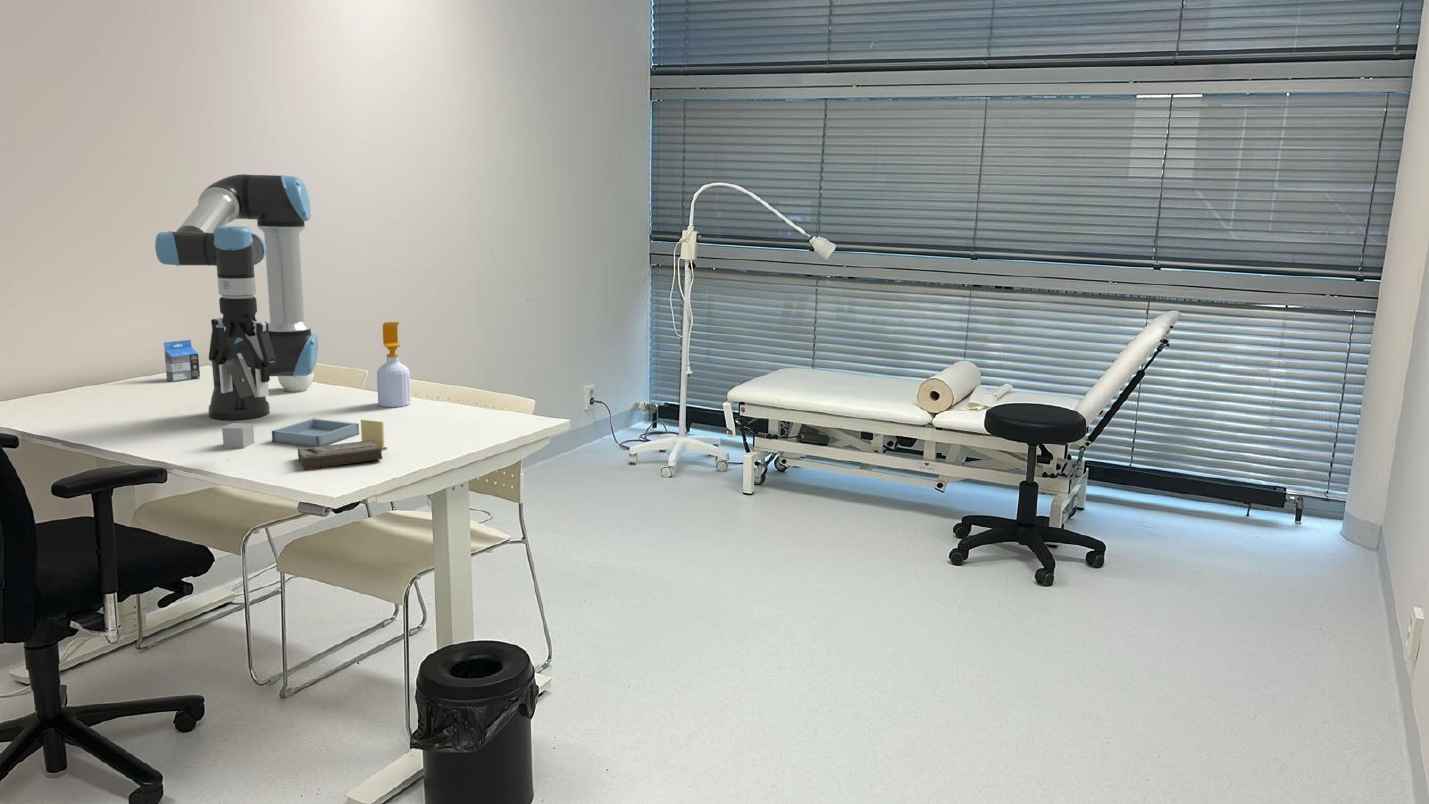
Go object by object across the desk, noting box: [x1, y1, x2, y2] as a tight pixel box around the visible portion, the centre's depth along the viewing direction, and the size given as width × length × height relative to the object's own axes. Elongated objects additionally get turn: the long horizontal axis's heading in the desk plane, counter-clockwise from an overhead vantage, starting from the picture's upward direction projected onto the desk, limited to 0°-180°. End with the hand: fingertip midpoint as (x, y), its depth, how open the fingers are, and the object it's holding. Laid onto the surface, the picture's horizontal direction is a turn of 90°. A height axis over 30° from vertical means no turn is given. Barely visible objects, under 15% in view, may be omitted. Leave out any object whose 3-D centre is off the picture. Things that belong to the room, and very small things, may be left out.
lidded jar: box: [276, 369, 315, 393], centre depth 299 cm, size 11×11×9 cm
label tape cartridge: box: [163, 339, 201, 383], centre depth 309 cm, size 9×4×12 cm, turn 147°
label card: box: [360, 419, 388, 451], centre depth 235 cm, size 6×2×7 cm, turn 73°
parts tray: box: [271, 417, 360, 448], centre depth 244 cm, size 14×15×3 cm
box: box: [297, 440, 383, 471], centre depth 225 cm, size 11×17×3 cm, turn 119°
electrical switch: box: [225, 353, 257, 398], centre depth 220 cm, size 9×5×9 cm, turn 30°
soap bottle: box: [376, 321, 412, 408], centre depth 282 cm, size 9×9×25 cm
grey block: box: [221, 422, 255, 449], centre depth 235 cm, size 5×5×5 cm
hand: (244, 393), depth 221 cm, fingers closed on electrical switch, 9 cm apart
